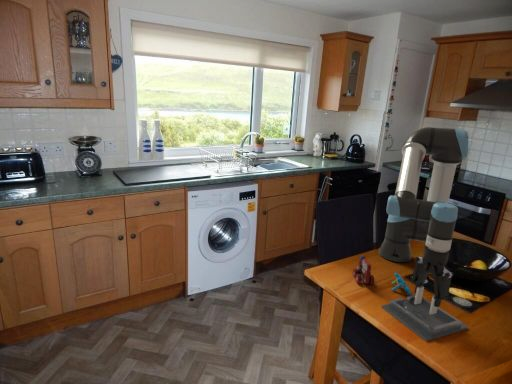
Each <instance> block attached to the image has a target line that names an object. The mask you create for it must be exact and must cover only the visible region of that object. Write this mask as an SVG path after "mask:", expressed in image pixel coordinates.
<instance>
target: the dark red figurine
mask: <svg viewBox="0 0 512 384" xmlns="http://www.w3.org/2000/svg"><path fill="white" fill-rule="evenodd" d="M371 270H372V265H371V263H370V262H369V261H368V259H367V258H366V256H365V255H360V257H359V260H358V262H357V268H353V269H352V276H353V277H354V279H355V282H356V284H358V285H361V284H362V282H363V283H364V284H368V285H372V286H373V285H375V277H374V275H373V274H372V273H371Z"/></svg>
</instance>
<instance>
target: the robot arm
mask: <svg viewBox="0 0 512 384" xmlns="http://www.w3.org/2000/svg"><path fill="white" fill-rule="evenodd" d="M468 153H469V133H468V131H467V130H465V129H458V128H448V127H447V128H446V127H445V128H444V127H443V128H442V127H429V126H426V127H421V128H419V129H417V130H415V131H413V132H412V133H411V134H410V135H409V136H407V138H406V139H405V140H404V142H403V144H402V147H401V154H402V159H401V164H400V168H399V169H400V170H399V174H398V178H397V183H396V188H395V193H394V195H389V196H388V199H387V205H386V208H385V209H386V214H387V215H388V218H387V219H386V221H387V224H386V229H385V235H384V240H383V241H382V243H381V245H380V246H379V248H378V249H379V250H378V254H379V256H380V257H382V258H384V259H385V260H388V261H391V262H396V263H407V262H410V261H412V251H411V240H413V241H416V242H417V241H418V242H423V243H425V246H424V249H423V252H422V254H423V257H422V256H417V257H415V258H414V259H415V261H414V262H415V264H414V268H413V271H412V275H411V282H412V283H414V286H415V288H414V295H416V296H415V301H414V304H420V303H421V301H422V297H424V296H423V294H424V290H425V287H424V284H425V282H426V280H427V278H428V276H429V275H430V274H431V276H432V279H433V287H434V296H432V298H431V301H430V302H431V306H430V311H429V314H431V315H432V314H435V313H437V308H438V307H439V308H440V307H441V303H442V300H447V299H449V293H450V289H451V281H452V278H453V276H454V272H453V271H450V270H449V269H447V262H448V260H449V256H450V251H451V246H452V241H453V236H454V233H455V232H454V231H455V227H456V223H457V219H458V211H459V207H457V206H456V205H454V204H453V203H449V201H450V197H451V196H450V195H451V191H452V188H453V182H454V179H455V177H454V176H455V174H456V170H457V166H458V165H460V164H462V161H463V160H464V159H467V158H468ZM426 155H429V156H431V157H430V159H431V161H433V168H432V173H431V177H430V183H429V188H428V193H427V199H426V200H423V199H418V198H417V195H418V188H419V181H420V175H421V170H422V169H421V168H422V163H423V159H424V157H425V156H426Z"/></svg>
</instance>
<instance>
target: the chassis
mask: <svg viewBox="0 0 512 384" xmlns="http://www.w3.org/2000/svg"><path fill="white" fill-rule="evenodd" d="M415 296H416V294H412V295H409V296H407V297H406V299H404V298H403V297H401V298H395V299H391V300H389V303H387V304H382V305H381V309H383V310H384V311H385V312H387V313H389V314H390V315H391V316H392V317H393V318H395V319H396V320H398V321H399V322H400V323H401V324H402V325H404V326H405V327H406V328H408V329H409V330H410V331H412V332H413V333H415V335H417V336H418V337H420V338H421V339H422V340H424V341H425V342H430V341H432V340H436V339H439V338H442V337H446V336H449V335H452V334H456V333H458V332H462V331H466V330H468V329H469V326H468V325H467V324H465V323H463V321H461V320H459V319H458V318H457V317H455V316H453V315H451V313H449V312H448V311H446V310H444V309H442V308H441V307H440V306H439V307H438V308H437V313H435V314H432V315H431V314H429V311H430V306H431V302H432V301H429V300H428V299H427V298H425V297H424V296H422V301H421V303H420V304H414V301H415Z"/></svg>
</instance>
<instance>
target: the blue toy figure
mask: <svg viewBox="0 0 512 384" xmlns="http://www.w3.org/2000/svg"><path fill="white" fill-rule="evenodd" d="M394 276H395V280H393V281H392V282H391V284H392V285H394V284H396V283H397V285H396V286H394V287H392V288H391V290H392V291H393V292H395V291H396V290H397V289H398V290H399V289H402V288H403V290H404V291H405V292H406V293H407V295H409V296H412V295H413V293H412V291H411V290H410V287H409V286H408V285H407V282H406V281H405V280H404V279H403V277H402V276H401V275H400V274H399V273H397V272H394Z"/></svg>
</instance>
